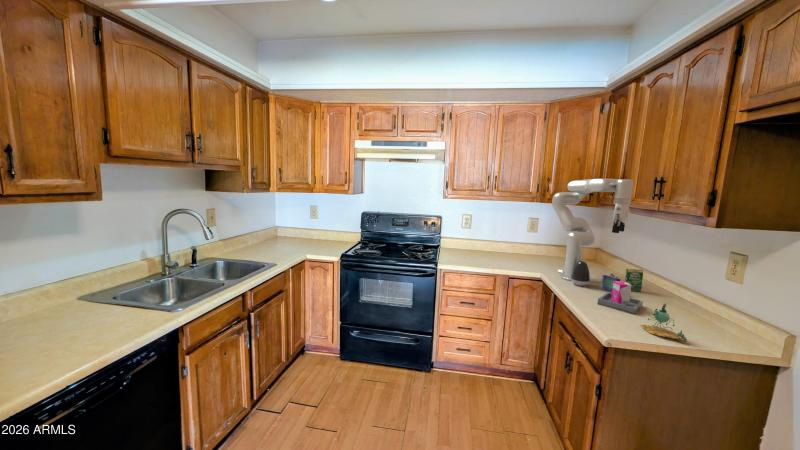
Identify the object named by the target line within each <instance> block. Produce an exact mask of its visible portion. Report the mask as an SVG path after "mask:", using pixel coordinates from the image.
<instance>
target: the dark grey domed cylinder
mask: <svg viewBox="0 0 800 450" xmlns="http://www.w3.org/2000/svg"><path fill="white" fill-rule="evenodd" d="M590 275H591V273H590V268H589V266H588V264H587V262H586V261H584V260H582V261H580V260H579V262H578V263H577V264H576V265H575V267H574V269H573V272H572V275H571V278H572V281H571V282H572V283H573V284H574V285H576V286H579V287H585V286H587V285H588V284H589V282H590V280H591V276H590Z"/></svg>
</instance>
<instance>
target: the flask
mask: <svg viewBox="0 0 800 450" xmlns="http://www.w3.org/2000/svg"><path fill="white" fill-rule="evenodd" d="M601 278H602V279H601V282H600V283H601V285H600V290H602V291H604V292H606V293H607V292H609V293H610V292H611V293H612V290H613V281H621V278H620V277H618V276H616V275H615V274H614V272H610V273H609V274H607V273H602V277H601Z"/></svg>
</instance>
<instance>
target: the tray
mask: <svg viewBox="0 0 800 450" xmlns="http://www.w3.org/2000/svg"><path fill="white" fill-rule="evenodd" d="M611 298H612V293H610V292H607V291H606V293H603V295H602V296H600V297H598V299H597V305H599V306H603V307H607V308H611V309H614V310H617V311H620V312H624V313H626V314H628V313H629V314H632V315H636V314H637V313H638V312H639V310H641V308H643V305H644V300H640V299H637V298H633V297H630V301H629V306H626V305H622V304H618V303H615V302H611Z"/></svg>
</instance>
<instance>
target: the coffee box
mask: <svg viewBox="0 0 800 450" xmlns="http://www.w3.org/2000/svg"><path fill="white" fill-rule="evenodd" d="M643 278H644V270H643V269H635V268H626V272H625V279H624V282H626V283H629V284H631V292H638V293H642V286H643Z"/></svg>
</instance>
